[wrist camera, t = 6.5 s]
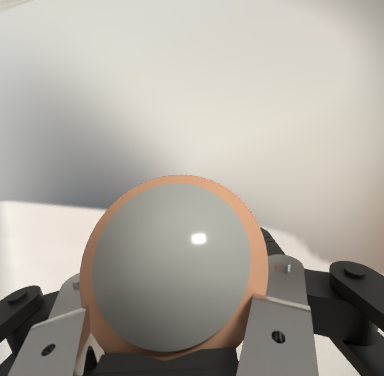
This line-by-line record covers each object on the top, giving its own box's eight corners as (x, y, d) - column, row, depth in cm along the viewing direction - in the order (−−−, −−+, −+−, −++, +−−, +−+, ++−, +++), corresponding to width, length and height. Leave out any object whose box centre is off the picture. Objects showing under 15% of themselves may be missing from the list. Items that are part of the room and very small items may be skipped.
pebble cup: (202, 231, 16) (184, 147, 8) (254, 288, 14) (316, 260, 5) (148, 277, 15) (50, 240, 6) (194, 351, 12) (135, 464, 4)
